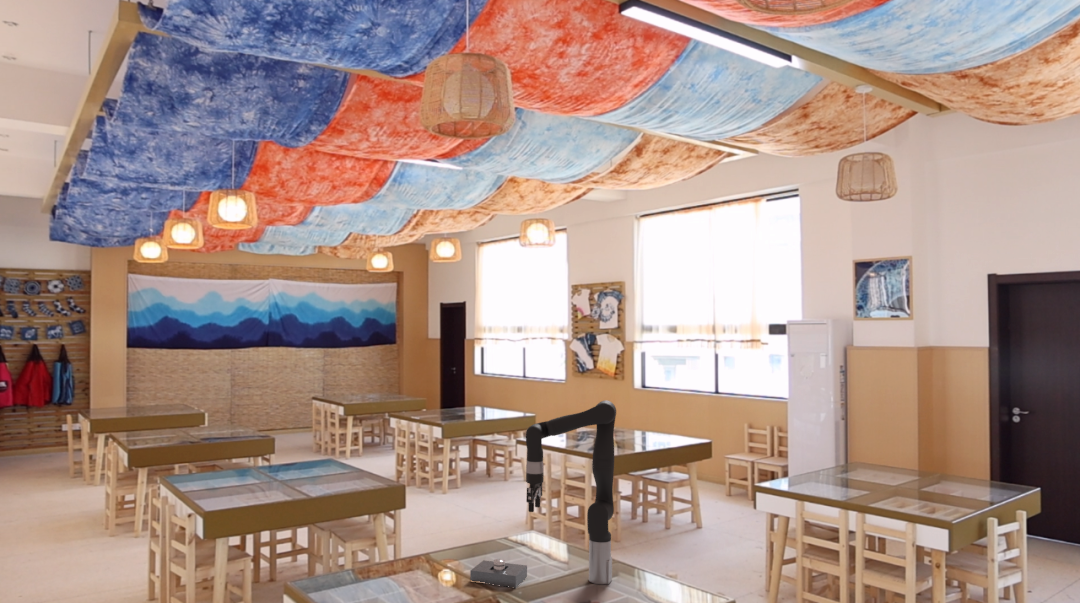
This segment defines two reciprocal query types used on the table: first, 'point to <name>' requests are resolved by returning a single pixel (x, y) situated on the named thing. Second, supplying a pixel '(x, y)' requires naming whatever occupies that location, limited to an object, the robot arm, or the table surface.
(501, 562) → the piston
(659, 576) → the table surface
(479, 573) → the grey block with hole
